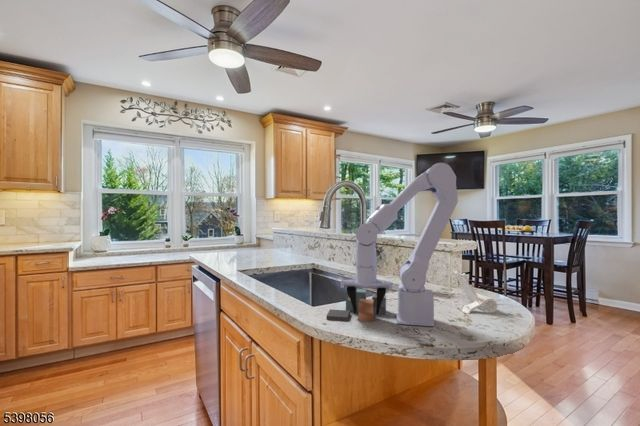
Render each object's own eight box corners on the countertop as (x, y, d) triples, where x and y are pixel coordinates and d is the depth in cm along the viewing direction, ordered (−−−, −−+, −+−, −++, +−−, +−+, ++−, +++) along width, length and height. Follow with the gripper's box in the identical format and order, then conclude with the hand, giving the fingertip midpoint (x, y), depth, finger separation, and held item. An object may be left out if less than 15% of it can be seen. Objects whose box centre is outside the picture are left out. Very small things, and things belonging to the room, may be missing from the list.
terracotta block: (373, 316, 93) (373, 299, 93) (373, 321, 89) (373, 303, 89) (359, 316, 94) (359, 298, 94) (358, 320, 90) (358, 302, 90)
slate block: (385, 310, 99) (385, 294, 99) (385, 314, 95) (385, 298, 95) (372, 309, 99) (372, 293, 99) (372, 314, 95) (372, 297, 95)
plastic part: (497, 312, 97) (497, 274, 97) (467, 314, 95) (467, 275, 95) (480, 305, 104) (481, 269, 104) (452, 306, 103) (453, 270, 103)
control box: (366, 307, 101) (366, 289, 101) (365, 312, 96) (365, 292, 96) (347, 306, 102) (347, 288, 102) (345, 311, 97) (345, 292, 97)
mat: (349, 313, 95) (349, 310, 95) (347, 320, 89) (347, 317, 89) (330, 312, 96) (330, 309, 96) (326, 319, 91) (326, 315, 91)
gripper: (391, 264, 94) (391, 310, 94) (342, 262, 97) (342, 307, 97) (392, 268, 87) (392, 318, 87) (339, 266, 90) (339, 315, 90)
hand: (366, 313), depth 91 cm, fingers open, 6 cm apart
